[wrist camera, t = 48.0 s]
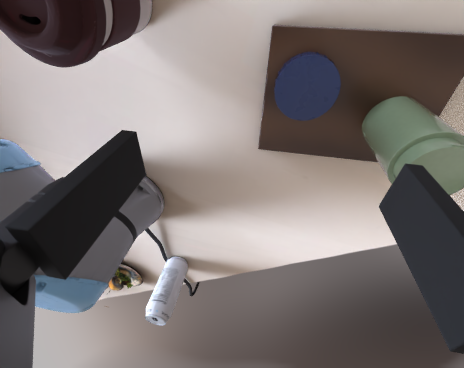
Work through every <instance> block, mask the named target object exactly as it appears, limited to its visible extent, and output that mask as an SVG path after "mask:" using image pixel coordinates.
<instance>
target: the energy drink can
mask: <svg viewBox="0 0 464 368" xmlns="http://www.w3.org/2000/svg"><path fill="white" fill-rule="evenodd" d="M187 270H188V265H187V261H186V260H185V259H183V258H181V257H178V256H173V257H171V258H170V259H168V260H167V262H166V264H165V266H164V269H163V271H162V273H161V275H160V278H159V280H158V282H157V284H156V287H155V289H154V291H153V293H152V296H151V298H150V300H149V303H148V305H147V307H146V316H145V319H146V320H147V321H149V322H150V323H153V324H156V325H165V324H166V322H167V321H168V319H169V318H170V317H171V315H172V313H173V310H174V307H175V304H176V301H177V298H178V296H179V293H180V290H181V287H182V284H183V281H184V279H185V276H186V273H187Z"/></svg>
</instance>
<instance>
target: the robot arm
mask: <svg viewBox="0 0 464 368" xmlns="http://www.w3.org/2000/svg"><path fill="white" fill-rule="evenodd" d="M40 165H41V164H40V162H38V161H35V160H34V159H33V158H32V157H31V156H30V155H28V154H27V153H26V152H25V151H24V150H23V149H22V148H21V147H20V146H18V145H17V144H16V143H14V142H12V141H9V140H5V139H0V368H32V364H33V363H32V362H33V339H34V317H35V316H34V315H35V306H36V307H40V308H44V309H48V310H53V311H58V312H66V313H79V312H83V311H86V310H88V309H90V308H91V307H92V306H93V305H94V304H95V303H96V301H97V300H98V299H99V297H100V296H101V295H102V293H103V292H104V290H105V289H106V288H107V287H108V286H109V282H110V281H111V279H112V277H113V276H114V274H115V272H116V271H117V269H118V267H119V266H120V264H121V262H122V261H123V259H124V257H125V256H126V254H127V253H128V251H129V249H130V248H131V246H132V244H133V242H134V241H135V239H136V238H137V236H138V235H140V234H141V233H142V232H143V231H144V230H145V231H146V232H147V233H148V234H149V235H150V237H151V238H152V239H153V240H154V241H155V242H156V243H157V244H158V246H159V248H160V250H161V253H162V256H163V258H164V260H165V261H166V262H167V260H168V258H167V257H166V254H165V251H164V248H163V246H162V244H161V242H160V241H159V240H158V239H157V237H156V236H155V235H154V234H153V233H152V232H151V231H150V230H149V228H148V227H149V226H150V225H151V224H153V223H154V222H155V221H156V220H157V219H158V218H159V217H160V215H161V213H162V211H163V209H164V199H163V196H162V193H161V192H160V190H159V188H158V187H157V186H156V185H155V184H154V183H153V182H152V181H151V180H150V179H149V178H148V177H146V172H145V168H144V163H143V159H142V155H141V150H140V146H139V142H138V137H137V133H136V132H134V131H125V130H122V131H121V132H119V133H118V134H117V135H116V136H114V137H113V138H112V139H111V140H110V141H108V142H107V143H106V144H105V145H103V146H102V147H101V148H100V149H99V150H97V151H96V152H95V153H94V154H93V155H91V156H90V157H89V158H88V159H86V160H85V161H84V162H83V163H82V164H80V165H79V166H78V167H77V168H75V169H74V170H73V171H72V172H71V173H69V174H68V175H67V176H66V177H64V178H63V177H62V178H60V179H58V180H56V181H55V180H54V179H53V178H52V177H51V176H50V175H49V174H48V173H47V172H46V171H45V170H44V169H43V168H42V167H41V166H40ZM379 208H380V210H381V212H382V214H383V216H384V218H385V220H386V222H387V224H388V226H389V228H390V230H391V232H392V234H393V236H394V238H395V240H396V242H397V244H398V246H399V248H400V250H401V252H402V254H403V256H404V258H405V260H406V263H407V265H408V267H409V269H410V271H411V273H412V275H413V277H414V279H415V281H416V283H417V285H418V287H419V289H420V291H421V293H422V295H423V297H424V299H425V301H426V303H427V305H428V307H429V309H430V311H431V313H432V315H433V317H434V319H435V321H436V323H437V325H438V327H439V329H440V331H441V333H442V336H443V338H444V340H445V341H446V344H447V346H448V348H449V350H450V351H452V352H457V353H462V354H464V211H463V210H462V209H461V208H460V207H459V206H458V205H457V204H456V202H455V201H454V200H453V199H452V198H451V197H450V196H449V195H448V193H447V192H446V191H445V190H444V189H443V188H442V187H441V186H440V184H439V183H438V182H437V181H436V180H435V179H434V178H433V176H432V175H431V174H430V173H429V172H428V171H427V170H426V169H425V167H424V166H423V165H415V164H406V163H405V164H404V166H403V168H402V169H401V171H400V172H399V174H398V176H397V177H396V179H395V181H394V182H393V184H392V185H391V187H390V189H389V190H388V192H387V194H386V195H385V197H384V198H383V200H382V202H381V203H380V205H379ZM184 282H185V283H186V285H187V286H188V287H189V293H190V296H193V295H194V294H195V293H196V290H197V288H198V286H199V283H200V282H197V284H196V287H195V289H194V291H193V292H192V287H191V285H190V284H189V282H188V281H187V280H186V279H184Z"/></svg>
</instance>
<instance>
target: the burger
mask: <svg viewBox="0 0 464 368" xmlns="http://www.w3.org/2000/svg"><path fill="white" fill-rule="evenodd" d="M142 283H143V280H142V278H141V276H140V275H139V274H138V273H137V272H136V271H135V270H134V269H132V268H130V267H128V266H125V265H122V264H120V266H119V267H118V269H117V271H116V272H115V274H114V276H113V277H112V279H111V281H110V282H109V287H110V288H111V289H112V290H121V289H122V288H123V285H127V287H128V289H129V287H130V288H131V286H138V285H141V284H142ZM110 291H111V290H110ZM110 291H109V292H110ZM109 292H108V293H109Z"/></svg>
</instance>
